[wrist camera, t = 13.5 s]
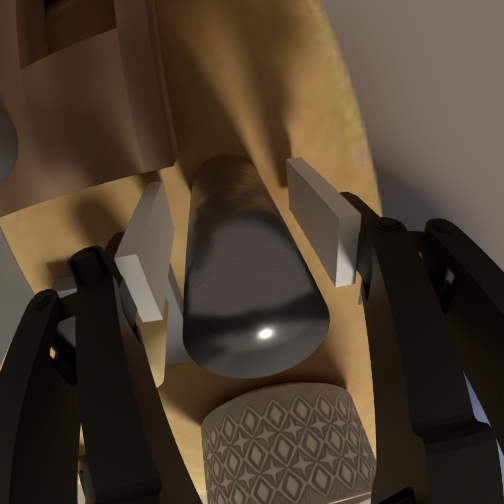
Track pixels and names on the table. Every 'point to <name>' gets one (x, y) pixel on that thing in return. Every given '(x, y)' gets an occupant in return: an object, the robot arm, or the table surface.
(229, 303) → the peg
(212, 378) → the table surface
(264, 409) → the planter
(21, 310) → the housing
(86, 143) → the socket board
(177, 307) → the board
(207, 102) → the table surface
